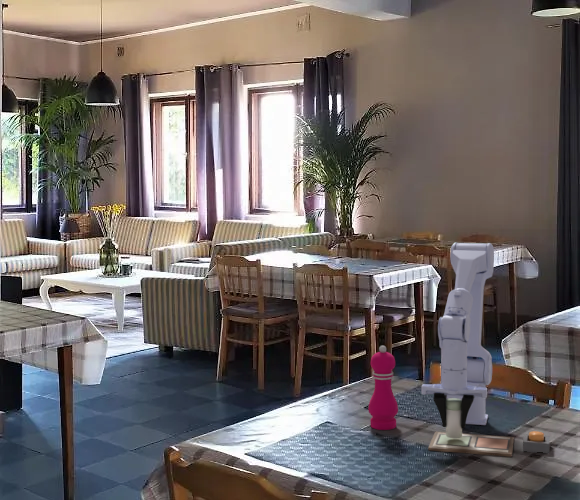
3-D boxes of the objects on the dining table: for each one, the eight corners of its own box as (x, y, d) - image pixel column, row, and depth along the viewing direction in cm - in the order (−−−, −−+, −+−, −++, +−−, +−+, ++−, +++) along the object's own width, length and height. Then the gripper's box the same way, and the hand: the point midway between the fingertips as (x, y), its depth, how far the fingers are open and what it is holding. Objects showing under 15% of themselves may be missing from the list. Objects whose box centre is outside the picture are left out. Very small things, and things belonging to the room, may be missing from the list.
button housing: (522, 451, 189) (522, 441, 189) (523, 443, 194) (523, 434, 194) (549, 453, 187) (549, 443, 187) (549, 445, 193) (549, 435, 192)
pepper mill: (397, 431, 205) (396, 349, 203) (366, 430, 206) (366, 348, 204) (399, 422, 212) (398, 343, 210) (370, 421, 213) (369, 342, 211)
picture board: (428, 450, 191) (428, 446, 191) (435, 433, 202) (435, 430, 202) (511, 456, 186) (511, 453, 185) (514, 439, 197) (514, 436, 197)
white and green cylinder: (444, 437, 194) (444, 401, 193) (447, 432, 197) (447, 397, 196) (460, 438, 192) (460, 403, 192) (463, 434, 196) (463, 398, 195)
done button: (528, 443, 190) (528, 435, 189) (529, 438, 193) (529, 430, 192) (543, 444, 189) (543, 436, 188) (543, 439, 192) (543, 431, 191)
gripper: (419, 370, 192) (419, 429, 193) (485, 373, 187) (485, 434, 189) (423, 363, 198) (423, 420, 200) (487, 366, 194) (487, 424, 195)
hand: (454, 426), depth 195 cm, fingers closed on white and green cylinder, 4 cm apart
